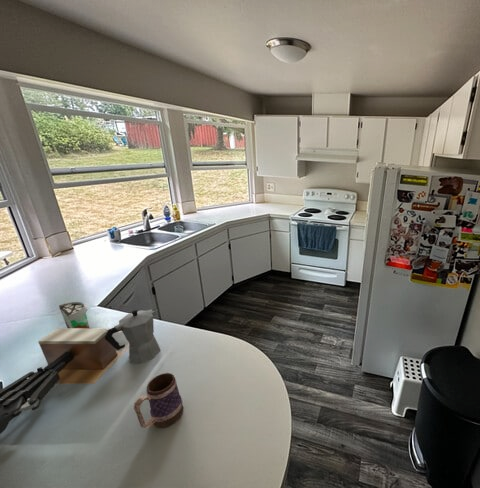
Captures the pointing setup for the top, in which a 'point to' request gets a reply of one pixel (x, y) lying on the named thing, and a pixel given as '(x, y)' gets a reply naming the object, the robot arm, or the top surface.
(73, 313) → the food container
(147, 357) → the coffeepot
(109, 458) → the top surface
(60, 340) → the brown rectangular block
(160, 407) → the mug
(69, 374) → the wooden board
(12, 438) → the top surface
